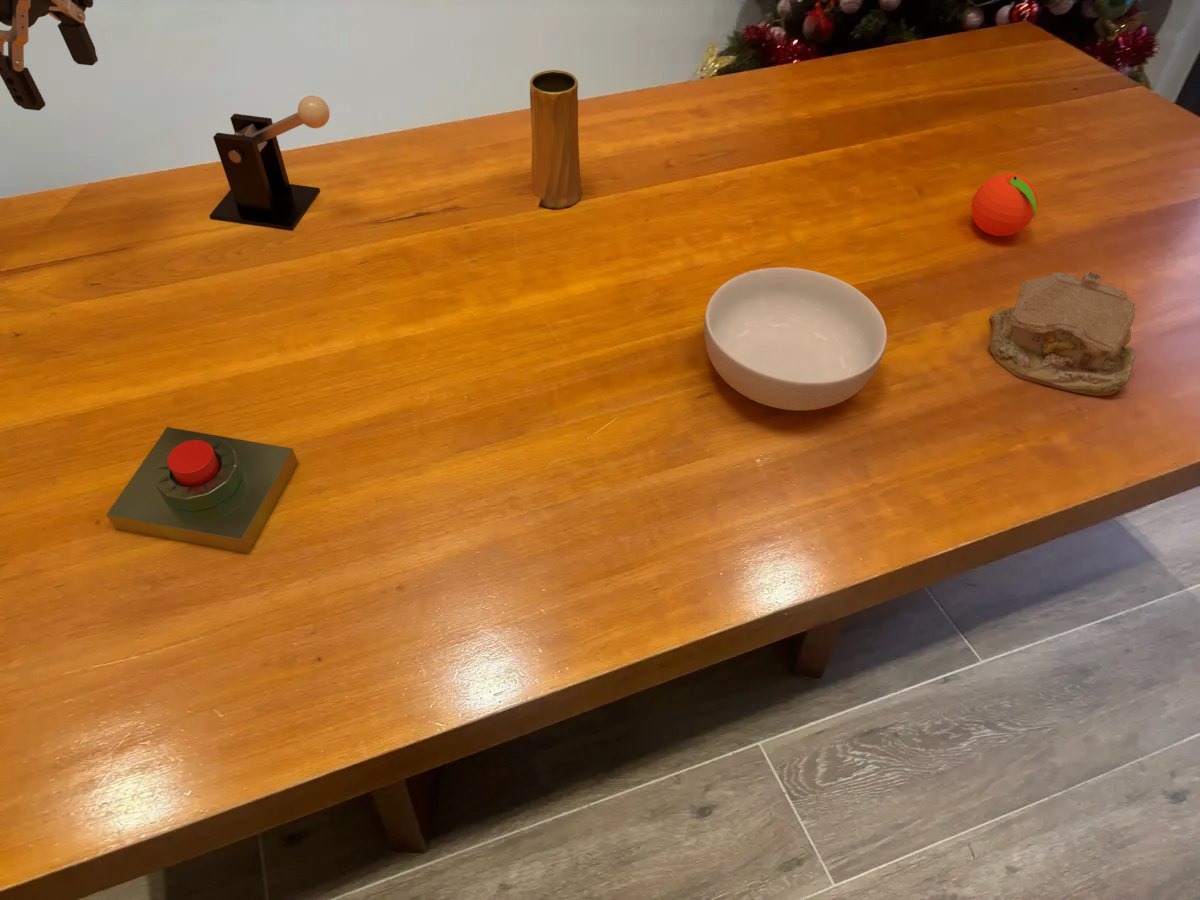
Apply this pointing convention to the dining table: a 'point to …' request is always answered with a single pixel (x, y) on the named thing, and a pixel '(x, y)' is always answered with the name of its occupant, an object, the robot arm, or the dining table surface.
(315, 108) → the lever
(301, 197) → the bracket
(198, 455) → the button
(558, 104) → the vase
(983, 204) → the clementine
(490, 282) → the dining table surface
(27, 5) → the robot arm
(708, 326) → the cereal bowl
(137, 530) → the button box
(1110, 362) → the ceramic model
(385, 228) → the dining table surface
